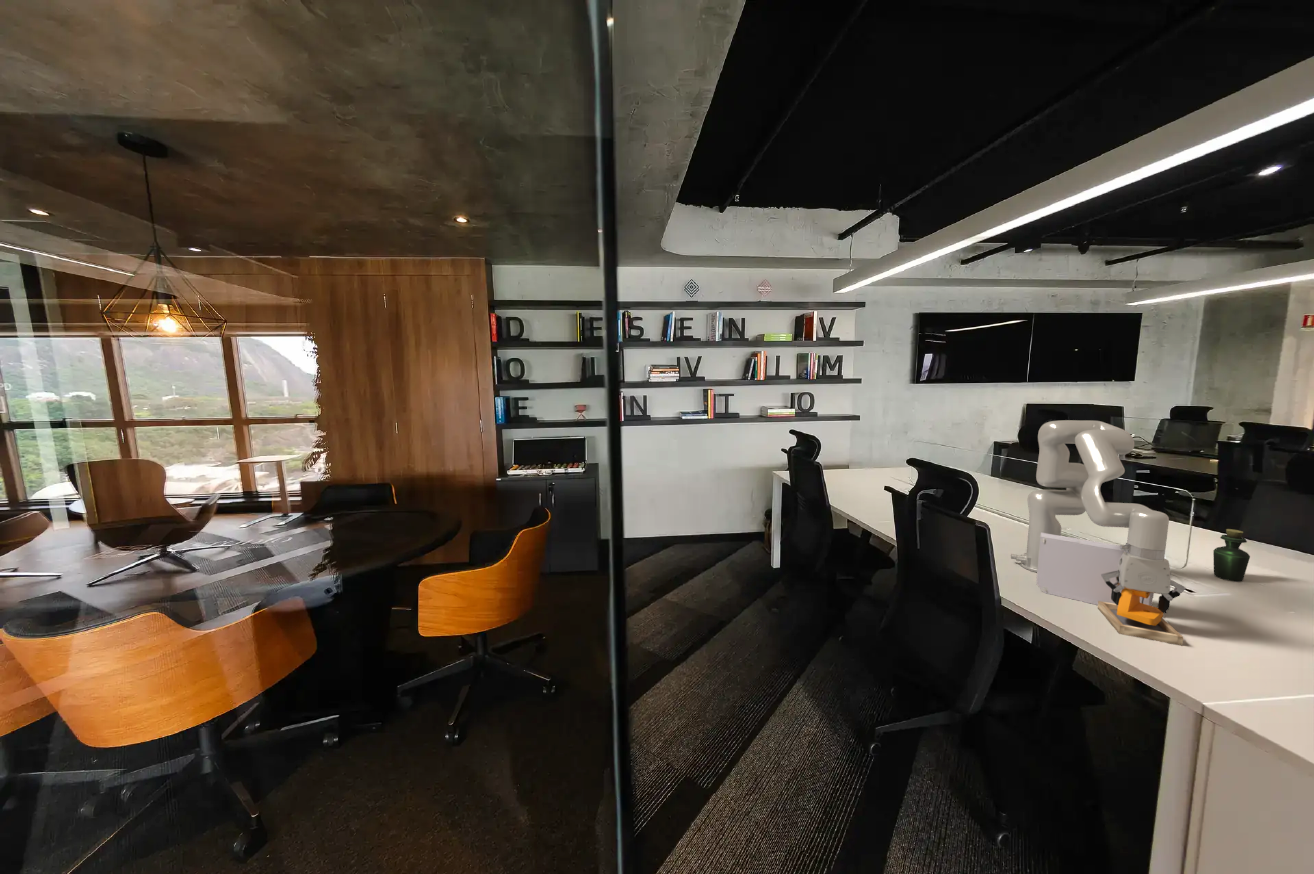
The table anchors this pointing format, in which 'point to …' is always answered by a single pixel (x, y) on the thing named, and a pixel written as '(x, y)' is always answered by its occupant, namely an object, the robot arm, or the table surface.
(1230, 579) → the potion bottle
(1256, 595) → the table surface
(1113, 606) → the wooden tray
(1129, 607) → the bracket
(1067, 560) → the game console
